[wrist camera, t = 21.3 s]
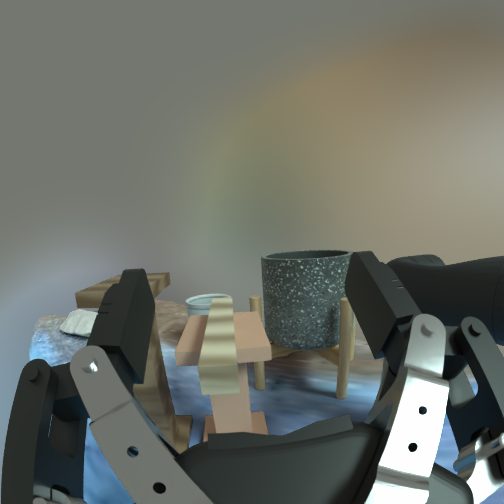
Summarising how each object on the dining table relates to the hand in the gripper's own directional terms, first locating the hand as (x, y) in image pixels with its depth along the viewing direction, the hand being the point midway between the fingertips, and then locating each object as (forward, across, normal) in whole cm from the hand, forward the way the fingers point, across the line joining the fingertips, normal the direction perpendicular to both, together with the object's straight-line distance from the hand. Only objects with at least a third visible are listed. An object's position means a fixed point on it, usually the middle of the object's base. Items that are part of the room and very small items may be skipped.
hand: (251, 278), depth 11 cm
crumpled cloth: (+63, -68, -81) cm, 123 cm away
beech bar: (+14, -3, -23) cm, 27 cm away
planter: (+27, +17, -59) cm, 67 cm away
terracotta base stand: (+6, -3, -46) cm, 47 cm away
